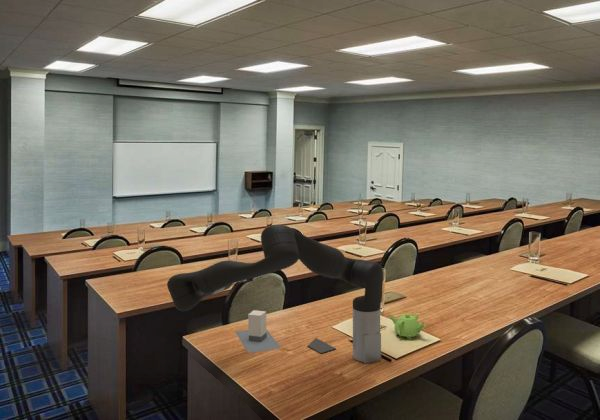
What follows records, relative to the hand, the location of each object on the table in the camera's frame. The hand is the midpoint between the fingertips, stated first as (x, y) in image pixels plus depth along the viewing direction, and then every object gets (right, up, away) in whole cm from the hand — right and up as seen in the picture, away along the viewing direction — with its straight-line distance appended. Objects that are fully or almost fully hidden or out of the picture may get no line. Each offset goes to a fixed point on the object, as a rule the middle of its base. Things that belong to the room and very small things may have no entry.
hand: (241, 271), depth 165 cm
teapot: (+61, -26, +16) cm, 69 cm away
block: (+4, -17, +12) cm, 21 cm away
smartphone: (+26, -28, +7) cm, 39 cm away
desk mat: (+4, -27, +12) cm, 30 cm away
